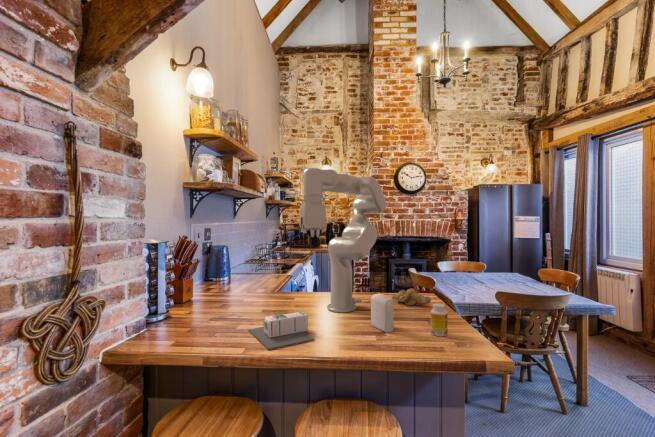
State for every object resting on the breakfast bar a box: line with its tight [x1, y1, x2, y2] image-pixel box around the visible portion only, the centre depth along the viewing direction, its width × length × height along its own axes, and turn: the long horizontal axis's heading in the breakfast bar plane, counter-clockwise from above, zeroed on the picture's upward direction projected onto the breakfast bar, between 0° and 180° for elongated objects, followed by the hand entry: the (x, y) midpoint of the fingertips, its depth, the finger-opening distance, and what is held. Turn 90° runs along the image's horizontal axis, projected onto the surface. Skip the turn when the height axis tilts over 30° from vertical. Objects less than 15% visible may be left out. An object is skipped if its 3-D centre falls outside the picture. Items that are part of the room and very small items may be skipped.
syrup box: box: [263, 310, 309, 338], centre depth 119 cm, size 6×6×14 cm
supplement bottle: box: [430, 303, 448, 337], centre depth 118 cm, size 6×6×10 cm
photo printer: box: [370, 293, 395, 333], centre depth 125 cm, size 10×4×12 cm, turn 26°
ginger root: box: [391, 287, 432, 307], centre depth 159 cm, size 16×16×8 cm
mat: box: [248, 326, 315, 351], centre depth 117 cm, size 16×20×1 cm
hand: (313, 246), depth 134 cm, fingers closed
